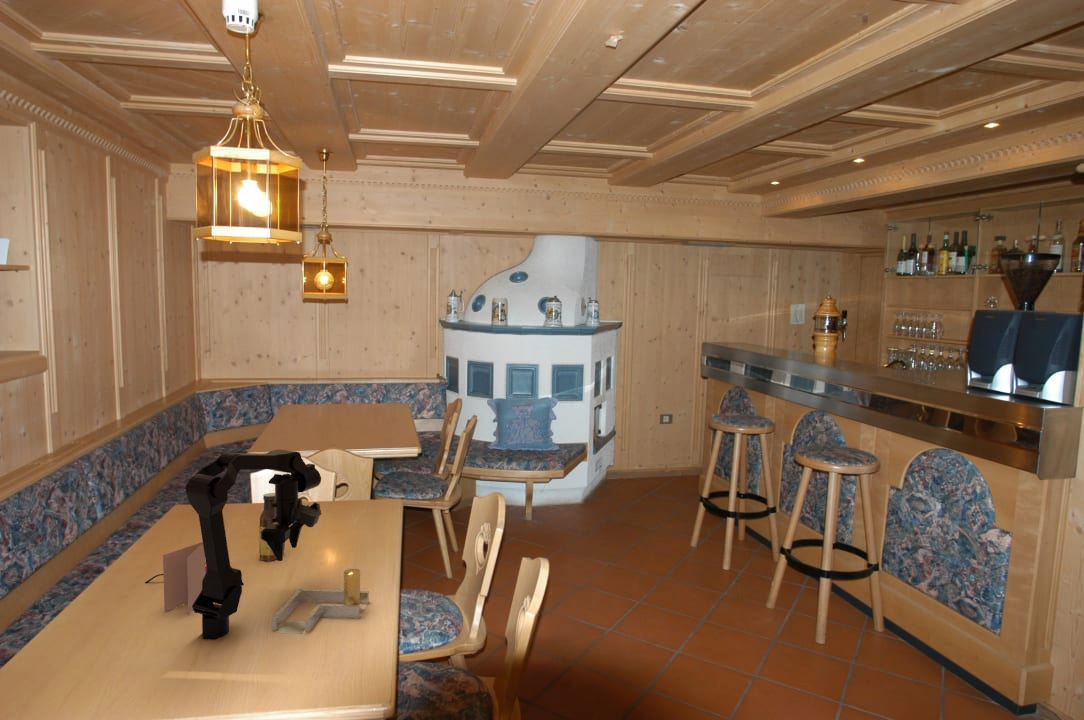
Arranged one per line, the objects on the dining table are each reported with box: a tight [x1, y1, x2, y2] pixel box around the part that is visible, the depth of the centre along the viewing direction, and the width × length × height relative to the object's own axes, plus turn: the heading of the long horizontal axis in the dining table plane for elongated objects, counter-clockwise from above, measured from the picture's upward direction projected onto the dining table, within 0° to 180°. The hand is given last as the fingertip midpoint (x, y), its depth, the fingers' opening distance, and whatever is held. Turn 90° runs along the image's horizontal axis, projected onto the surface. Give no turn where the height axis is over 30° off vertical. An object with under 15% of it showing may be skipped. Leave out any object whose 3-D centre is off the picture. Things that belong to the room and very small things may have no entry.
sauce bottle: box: [258, 492, 278, 562], centre depth 205 cm, size 7×6×20 cm
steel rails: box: [271, 588, 370, 633], centre depth 167 cm, size 16×18×3 cm
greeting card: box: [162, 541, 206, 616], centre depth 172 cm, size 11×7×15 cm, turn 152°
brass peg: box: [343, 568, 361, 605], centre depth 170 cm, size 4×4×10 cm
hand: (287, 554), depth 178 cm, fingers open, 9 cm apart
